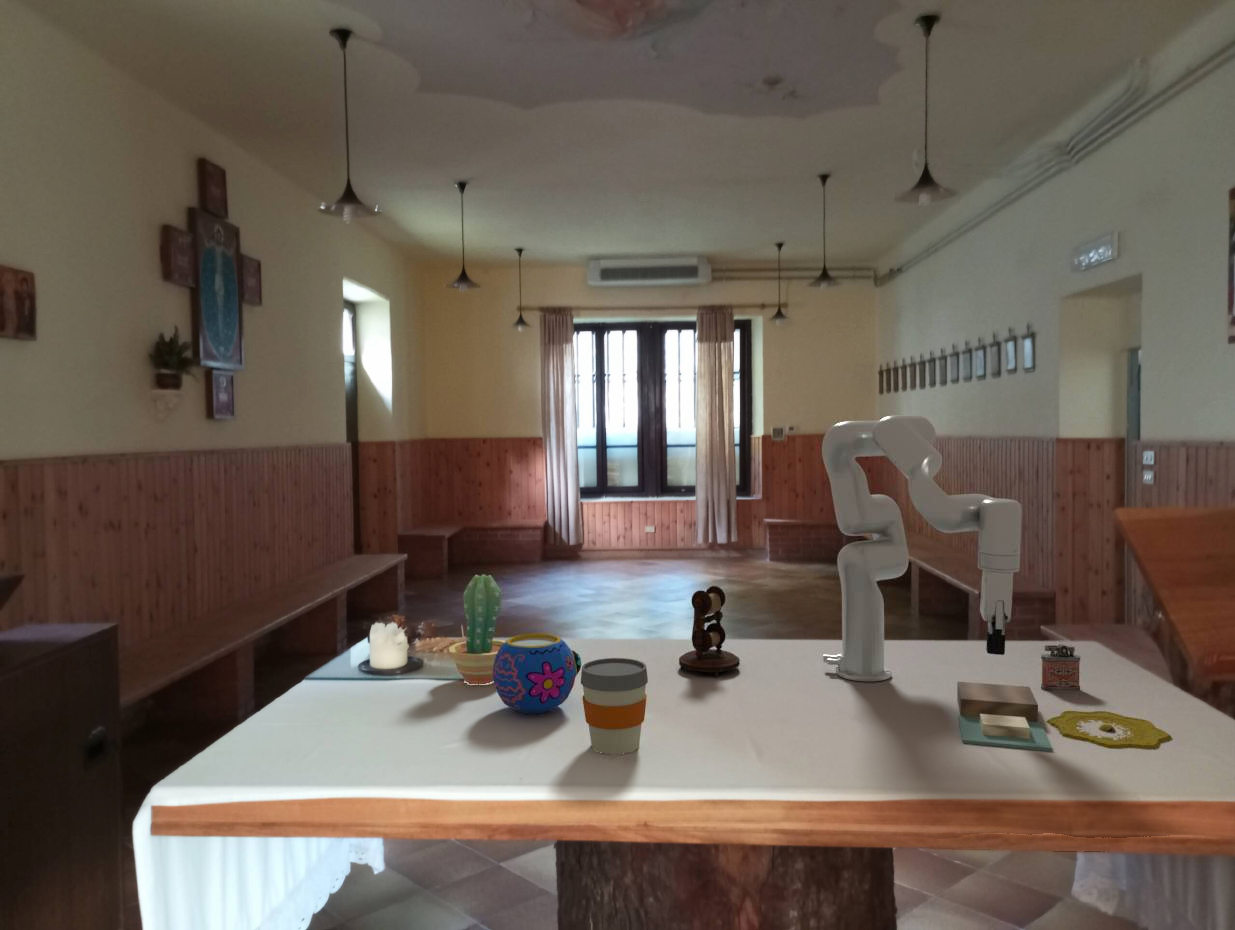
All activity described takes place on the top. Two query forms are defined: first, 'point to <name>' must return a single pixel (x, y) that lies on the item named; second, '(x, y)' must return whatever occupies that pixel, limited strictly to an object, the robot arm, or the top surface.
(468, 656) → the potted cactus
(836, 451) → the robot arm
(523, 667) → the ceramic pot
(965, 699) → the brown flat block
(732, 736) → the top surface
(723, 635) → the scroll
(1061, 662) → the lighter
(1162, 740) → the decorative medallion
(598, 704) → the reusable coffee cup
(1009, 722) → the tile
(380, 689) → the top surface
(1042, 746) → the mat
